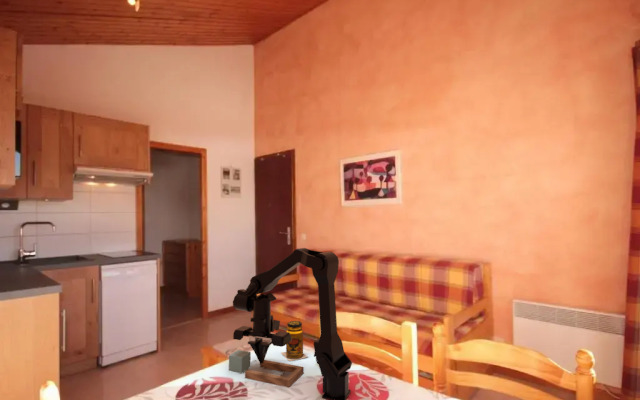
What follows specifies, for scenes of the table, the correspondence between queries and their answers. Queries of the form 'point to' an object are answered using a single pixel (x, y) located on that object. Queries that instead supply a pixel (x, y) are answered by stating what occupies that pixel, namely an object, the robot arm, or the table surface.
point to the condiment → (294, 342)
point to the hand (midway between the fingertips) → (261, 362)
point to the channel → (276, 379)
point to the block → (239, 361)
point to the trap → (285, 374)
